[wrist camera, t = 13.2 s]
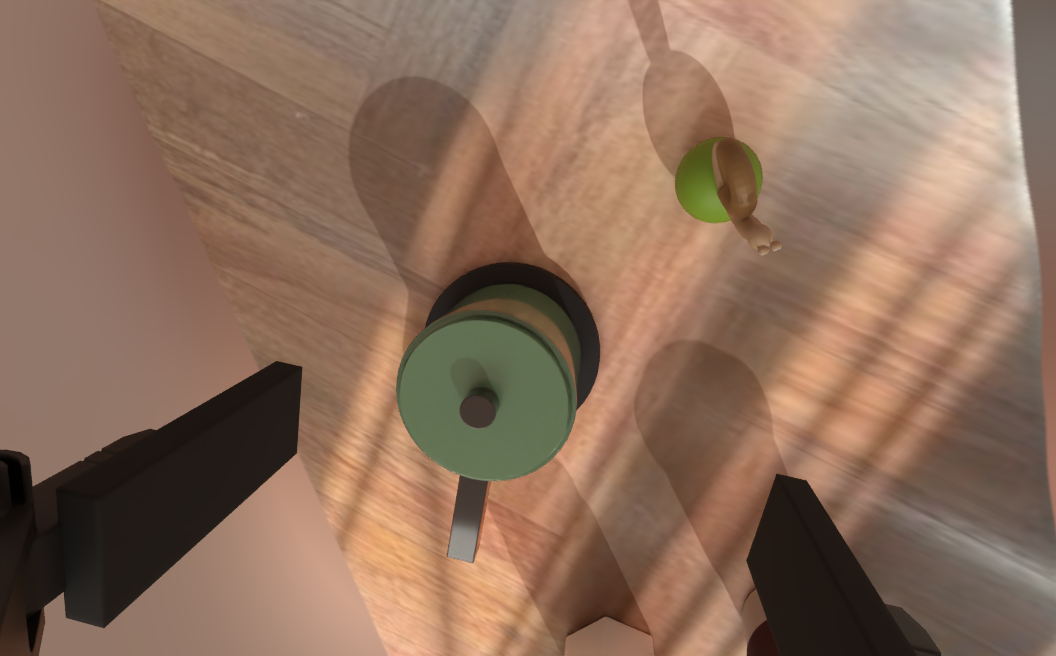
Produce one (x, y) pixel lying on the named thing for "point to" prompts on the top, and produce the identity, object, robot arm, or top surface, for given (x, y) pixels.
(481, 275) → the trivet
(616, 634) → the jar
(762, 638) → the coffee cup
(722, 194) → the snail figurine
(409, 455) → the top surface
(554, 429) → the pot
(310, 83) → the top surface
